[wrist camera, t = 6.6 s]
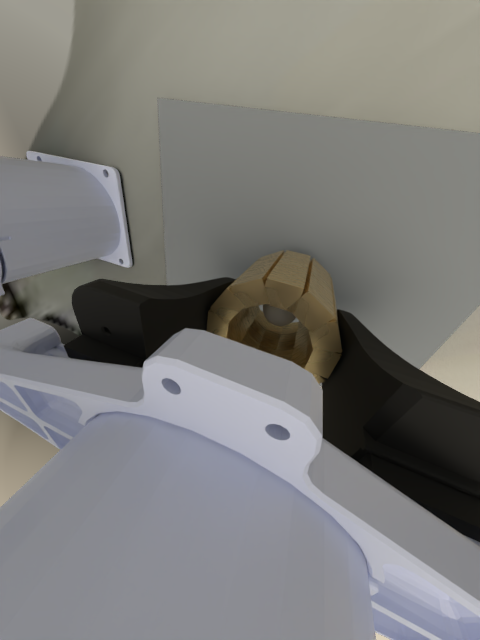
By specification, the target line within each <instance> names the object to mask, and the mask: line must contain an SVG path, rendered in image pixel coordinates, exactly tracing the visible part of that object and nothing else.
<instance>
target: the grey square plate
mask: <svg viewBox="0 0 480 640" xmlns="http://www.w3.org/2000/svg"><path fill="white" fill-rule="evenodd" d="M157 103H158V123H159V143H160V162H161V182H162V202H163V221H164V241H165V261H166V280H167V285H182V284H191V283H196V282H202V281H207V280H212V279H217V278H222V277H229V278H233V279H237V278H238V277H240V276H241V275H242V274H243V273H244V272H245V271H246V270H247V269H248V268H249V267H250V266H251V265H253V264H254V263H255V262H256V261H257V260H258V259H260V258H261V257H263V256H266V255H269V254H272V253H276V252H279V251H282V250H284V253H285V252H286V251H287V250H289V251H293V252H297V253H301V254H305V255H309V256H311V257H310V260H311V259H312V258H315V259H316V260H317V261H318V262H319V263H320V264H321V266H322V267H323V268H324V269H325V270H326V271H327V272H328V273H329V274H330V277H332V282H333V288H334V294H335V300H336V308H337V309H340V310H343V311H347V312H350V313H351V314H353V315H354V316H355V317H356V318H357V319H358V320H359V321H360V322H361V323H362V324H363V325H364V326H365V327H366V328H367V329H368V330H369V331H370V332H371V333H372V334H373V335H374V336H376V337H377V338H378V339H379V340H380V341H381V342H382V343H383V344H385V345H386V346H387V347H388V348H389V349H391V350H392V351H393V352H395V353H396V354H397V355H399V356H400V357H401V358H403V359H404V360H406V361H407V362H409V363H410V364H411V365H413V366H415V367H416V368H418V369H420V368H421V367H422V366H423V365H424V364H425V363H426V361H427V360H428V359H429V358H430V357H431V356H432V355H433V354H434V353H435V352H436V351H437V350H438V349H439V348H440V347H441V346H442V345H443V343H444V342H445V341H446V340H447V339H448V338H449V337H450V336H451V335H452V334H453V333H454V332H455V331H456V330H457V329H458V328H459V326H460V325H461V324H462V323H463V322H464V321H465V320H466V319H467V318H468V317H469V316H470V315H471V314H472V313H473V312H474V311H475V309H476V308H477V307H478V306H479V305H480V133H474V132H465V131H456V130H447V129H438V128H429V127H420V126H411V125H402V124H393V123H383V122H374V121H365V120H356V119H347V118H338V117H329V116H320V115H311V114H302V113H292V112H283V111H274V110H265V109H256V108H247V107H238V106H229V105H220V104H211V103H201V102H192V101H183V100H174V99H165V98H157ZM259 308H260V310H261V311H262V312H263V313H264V316H265V318H266V319H267V320H268V321H269V322H270V323H271V324H273V325H276V326H285V325H288V324H290V323H293V322H299V320H298V319H297V318H296V317H295V316H294V315H293V314H292V313H291V312H289V311H286V310H283V309H280V308H276V307H273V306H270V305H266V304H263V305H259ZM319 385H320V386H322V383H320V384H319Z"/></svg>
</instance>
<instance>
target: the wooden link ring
mask: <svg viewBox="0 0 480 640" xmlns="http://www.w3.org/2000/svg"><path fill="white" fill-rule="evenodd" d="M310 257H311V256H309V255H305V254H301V253H297V252H293V251H289V250H287V251H286V252H285V253H284V250H282V251H279V252H276V253H272V254H269V255H266V256H263V257H261V258H260V259H258V260H257V261H256V262H255V263H254V264H253V265H251V266H250V267H249V268H248V269H247V270H246V271H245V272H244V273H243V274H242V275H241V276H240V277H238V278H237V279H236V280H235V281H234V282H233V283H232V284H231V285H230V286H229V287H228V288H227V289H226V290H225V291H224V292H223V293H222V294H221V295H220V297H219V298H218V299H217V300H216V301H215V302H214V304H213V305H212V306H211V307H210V310H209V311H208V319H207V332H210V333H213V334H216V335H218V336H221V337H224V338H227V339H230V340H232V341H235V342H238V343H241V344H244V345H247V346H249V347H252V348H255V349H258V350H261V351H263V352H266V353H269V354H272V355H275V356H277V357H280V358H283V359H286V360H289V361H292V362H293V363H295V364H297V365H298V366H300V367H302V368H303V369H305V370H307V371H308V372H310V373H312V374H313V376H314V377H315V379H316V381H317V382H318V384H320V383H322V382H324V381H325V378H327V379H328V378H329V376H330V374H331V373H332V371H333V369H334V367H335V366H336V364H337V362H338V361H339V359H340V357H341V356H342V355H341V352H342V346H341V338H340V331H339V323H338V316H337V308H336V300H335V294H334V288H333V282H332V277H330V274H329V273H328V272H327V271H326V270H325V269H324V268H323V267H322V266H321V264H320V263H319V262H318V261H317V260H316V259H315V258H312V259H311V260H310ZM263 304H266V305H270V306H273V307H276V308H280V309H283V310H286V311H289V312H291V313H292V314H293V315H294V316H295V317H296V318H297V319H298V320H299V322H293V323H290V324H288V325H285V326H276V325H273V324H271V323H270V322H269V321H268V320H267V319H266V318H265V316H264V313H263V312H262V311H261V310H260V308H259V305H263Z"/></svg>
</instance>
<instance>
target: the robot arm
mask: <svg viewBox="0 0 480 640" xmlns="http://www.w3.org/2000/svg"><path fill="white" fill-rule="evenodd" d="M26 155H27V159H28V160H26V159H19V158H11V157H3V156H0V295H4V294H5V292H4V290H3V288H2V284H3V283H7V282H11V281H14V280H18V279H22V278H26V277H29V276H33V275H37V274H40V273H44V272H48V271H52V270H55V269H59V268H63V267H67V266H70V265H74V264H78V263H82V262H85V261H89V260H93V259H101V260H104V261H107V262H110V263H113V264H117V265H120V266H123V267H126V268H129V267H131V266H132V256H131V249H130V242H129V235H128V228H127V222H126V215H125V208H124V201H123V194H122V187H121V180H120V174H119V172H118V170H117V169H116V168H114V167H110V166H105V165H100V164H95V163H90V162H85V161H80V160H75V159H70V158H65V157H60V156H55V155H50V154H44V153H39V152H34V151H27V153H26ZM107 171H108V174H109V176H108V174H107ZM122 260H123V261H122ZM235 280H236V279H233V278H229V277H222V278H217V279H212V280H207V281H202V282H196V283H191V284H182V285H142V284H132V283H124V282H118V281H112V280H106V279H98V280H95V281H93V282H90V283H87V284H84V285H81V286H79V287H77V288H76V289H75V290H74V292H73V294H72V306H73V310H74V313H75V315H76V318H77V321H78V324H79V327H80V329H81V332H82V334H83V335H81V336H79V337H78V338H76V339H74V340H72V341H71V342H69V343H67V344H62V343H61V339H60V336H59V334H58V333H57V331H56V330H55V329H54V328H53V327H51V326H50V325H48V324H45V323H43V322H41V321H38V320H36V319H33V318H28V319H26V320H24V321H21V322H19V323H16V324H14V325H11V326H9V327H6V328H4V329H2V330H0V410H1V411H2V412H4V413H6V414H7V415H9V416H10V417H12V418H14V419H15V420H17V421H19V422H20V423H21V424H23V425H24V426H26V427H27V428H29V429H30V430H32V431H33V432H35V433H37V434H38V435H39V436H41V437H42V438H44V439H45V440H47V441H48V442H50V443H51V444H52V445H54V446H55V447H57V448H58V449H60V451H59V452H58V453H57V454H56V455H55V456H54V457H53V458H52V459H51V460H49V461H48V462H47V463H46V464H45V465H44V466H43V467H42V468H41V469H40V470H39V471H38V472H37V473H36V474H35V475H34V476H33V477H32V478H31V479H30V480H29V481H28V482H27V483H26V484H24V486H22V487H21V488H20V489H19V490H18V491H17V492H16V493H15V494H14V495H13V496H12V497H11V498H10V499H9V500H8V501H7V502H6V503H5V504H4V505H3V506H2V507H0V640H376V636H375V632H376V633H378V634H380V635H382V636H384V637H386V638H388V639H390V640H480V402H478V401H476V400H474V399H472V398H470V397H468V396H466V395H464V394H462V393H460V392H458V391H456V390H454V389H452V388H451V387H449V386H447V385H445V384H443V383H441V382H439V381H438V380H436V379H434V378H432V377H431V376H429V375H427V374H426V373H424V372H423V371H421V370H419V369H418V368H416V367H415V366H413V365H411V364H410V363H409V362H407V361H406V360H404V359H403V358H401V357H400V356H399V355H397V354H396V353H395V352H393V351H392V350H391V349H389V348H388V347H387V346H386V345H385V344H383V343H382V342H381V341H380V340H379V339H378V338H377V337H376V336H374V335H373V334H372V333H371V332H370V331H369V330H368V329H367V328H366V327H365V326H364V325H363V324H362V323H361V322H360V321H359V320H358V319H357V318H356V317H355V316H354V315H353V314H351V313H350V312H347V311H343V310H340V309H337V316H338V323H339V331H340V338H341V346H342V352H341V355H342V356H341V357H340V359H339V361H338V362H337V364H336V366H335V367H334V369H333V371H332V373H331V374H330V376H329V378H328V379H327V378H325V381H324V382H322V388H321V387H320V385H319V384H318V382H317V381H316V379H315V377H314V376H313V374H312V373H310V372H308V371H307V370H305V369H303V368H302V367H300V366H298V365H297V364H295V363H293V362H292V361H289V360H286V359H283V358H280V357H277V356H275V355H272V354H269V353H266V352H263V351H261V350H258V349H255V348H252V347H249V346H247V345H244V344H241V343H238V342H235V341H232V340H230V339H227V338H224V337H221V336H218V335H216V334H213V333H210V332H207V319H208V311H209V310H210V307H211V306H212V305H213V304H214V302H215V301H216V300H217V299H218V298H219V297H220V295H221V294H222V293H223V292H224V291H225V290H226V289H227V288H228V287H229V286H230V285H231V284H232V283H233V282H234V281H235Z"/></svg>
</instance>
